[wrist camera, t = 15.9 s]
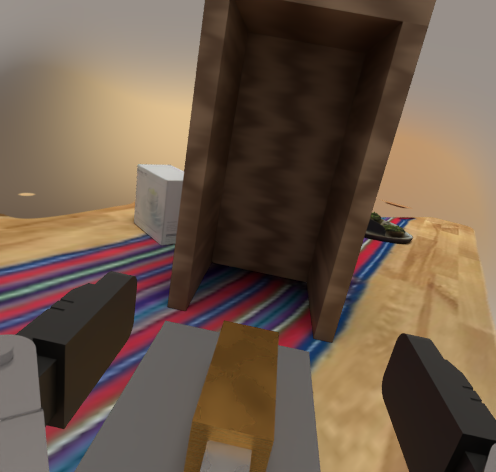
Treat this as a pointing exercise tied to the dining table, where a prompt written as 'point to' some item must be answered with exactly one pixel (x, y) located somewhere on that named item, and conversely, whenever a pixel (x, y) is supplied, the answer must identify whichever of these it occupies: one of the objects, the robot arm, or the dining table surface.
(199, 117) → the walnut shelf
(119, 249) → the dining table surface
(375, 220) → the salad plate
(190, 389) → the mat
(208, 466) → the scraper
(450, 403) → the robot arm
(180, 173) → the skincare box
